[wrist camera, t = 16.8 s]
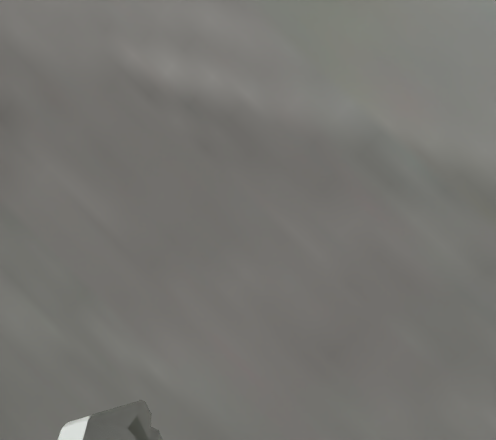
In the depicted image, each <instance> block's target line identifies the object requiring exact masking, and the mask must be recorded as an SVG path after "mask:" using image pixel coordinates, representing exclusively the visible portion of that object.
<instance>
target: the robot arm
mask: <svg viewBox="0 0 496 440" xmlns="http://www.w3.org/2000/svg"><path fill="white" fill-rule="evenodd" d="M58 440H163V439H162V437H161V435H160V432H159V430H157V429H155V428H153V427H151V412H150V410H149V408H148V406H147V404H146V402H145V401H142V400H140V401H137V402H133V403H130V404H126V405H123V406H120V407H116V408H113V409H110V410H106V411H103V412H99V413H96V414H93V415H92V416H87V417H84V418H81V419H77V420H74V421H71V422H67V423H66V424H65V425H64V427H63V428H62V429H61V432H60V435H59V438H58Z"/></svg>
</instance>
